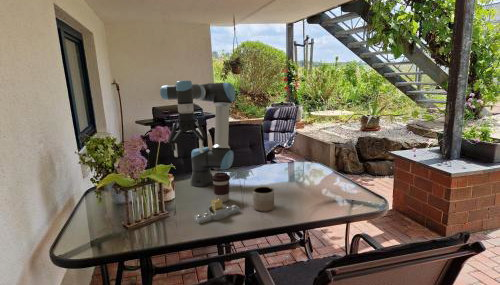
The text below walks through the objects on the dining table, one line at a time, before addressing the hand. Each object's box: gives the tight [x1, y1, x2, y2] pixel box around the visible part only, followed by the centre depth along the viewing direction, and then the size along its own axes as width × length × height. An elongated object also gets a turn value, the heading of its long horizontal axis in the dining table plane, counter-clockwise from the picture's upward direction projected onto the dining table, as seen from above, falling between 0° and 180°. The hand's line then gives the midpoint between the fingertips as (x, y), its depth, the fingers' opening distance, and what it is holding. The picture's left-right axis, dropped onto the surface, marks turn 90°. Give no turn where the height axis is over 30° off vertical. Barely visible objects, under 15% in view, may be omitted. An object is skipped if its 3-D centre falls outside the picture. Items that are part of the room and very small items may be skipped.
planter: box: [252, 186, 275, 212], centre depth 162 cm, size 11×11×10 cm
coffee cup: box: [212, 171, 231, 203], centre depth 174 cm, size 10×10×15 cm
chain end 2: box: [221, 204, 240, 219], centre depth 157 cm, size 8×11×4 cm
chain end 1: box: [193, 204, 223, 225], centre depth 151 cm, size 8×11×4 cm
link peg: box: [210, 198, 224, 213], centre depth 154 cm, size 4×4×8 cm
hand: (189, 154), depth 160 cm, fingers open, 13 cm apart
